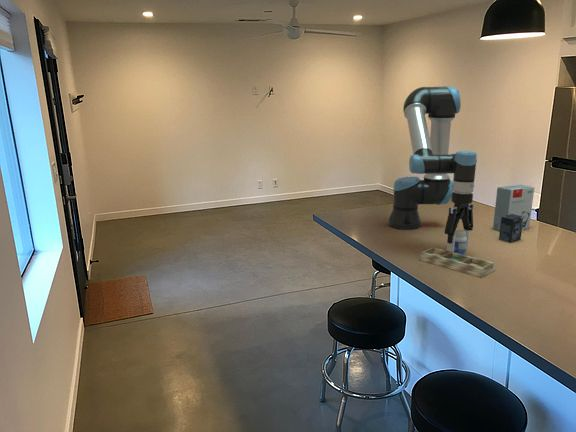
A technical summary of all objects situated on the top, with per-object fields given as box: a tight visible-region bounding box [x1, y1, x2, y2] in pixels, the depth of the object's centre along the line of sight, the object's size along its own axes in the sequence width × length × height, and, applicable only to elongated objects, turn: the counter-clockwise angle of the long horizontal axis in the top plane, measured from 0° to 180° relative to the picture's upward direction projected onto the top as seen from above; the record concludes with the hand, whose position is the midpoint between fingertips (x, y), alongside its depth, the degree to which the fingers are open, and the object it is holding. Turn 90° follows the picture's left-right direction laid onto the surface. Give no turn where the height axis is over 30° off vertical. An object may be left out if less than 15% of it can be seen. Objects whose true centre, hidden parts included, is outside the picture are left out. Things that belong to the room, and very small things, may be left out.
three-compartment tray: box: [418, 246, 496, 278], centre depth 174 cm, size 25×10×3 cm, turn 41°
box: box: [498, 214, 523, 243], centre depth 202 cm, size 8×6×11 cm
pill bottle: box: [454, 229, 468, 256], centre depth 184 cm, size 6×5×10 cm
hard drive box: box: [492, 184, 535, 232], centre depth 216 cm, size 16×8×20 cm, turn 114°
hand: (457, 248), depth 183 cm, fingers open, 10 cm apart
